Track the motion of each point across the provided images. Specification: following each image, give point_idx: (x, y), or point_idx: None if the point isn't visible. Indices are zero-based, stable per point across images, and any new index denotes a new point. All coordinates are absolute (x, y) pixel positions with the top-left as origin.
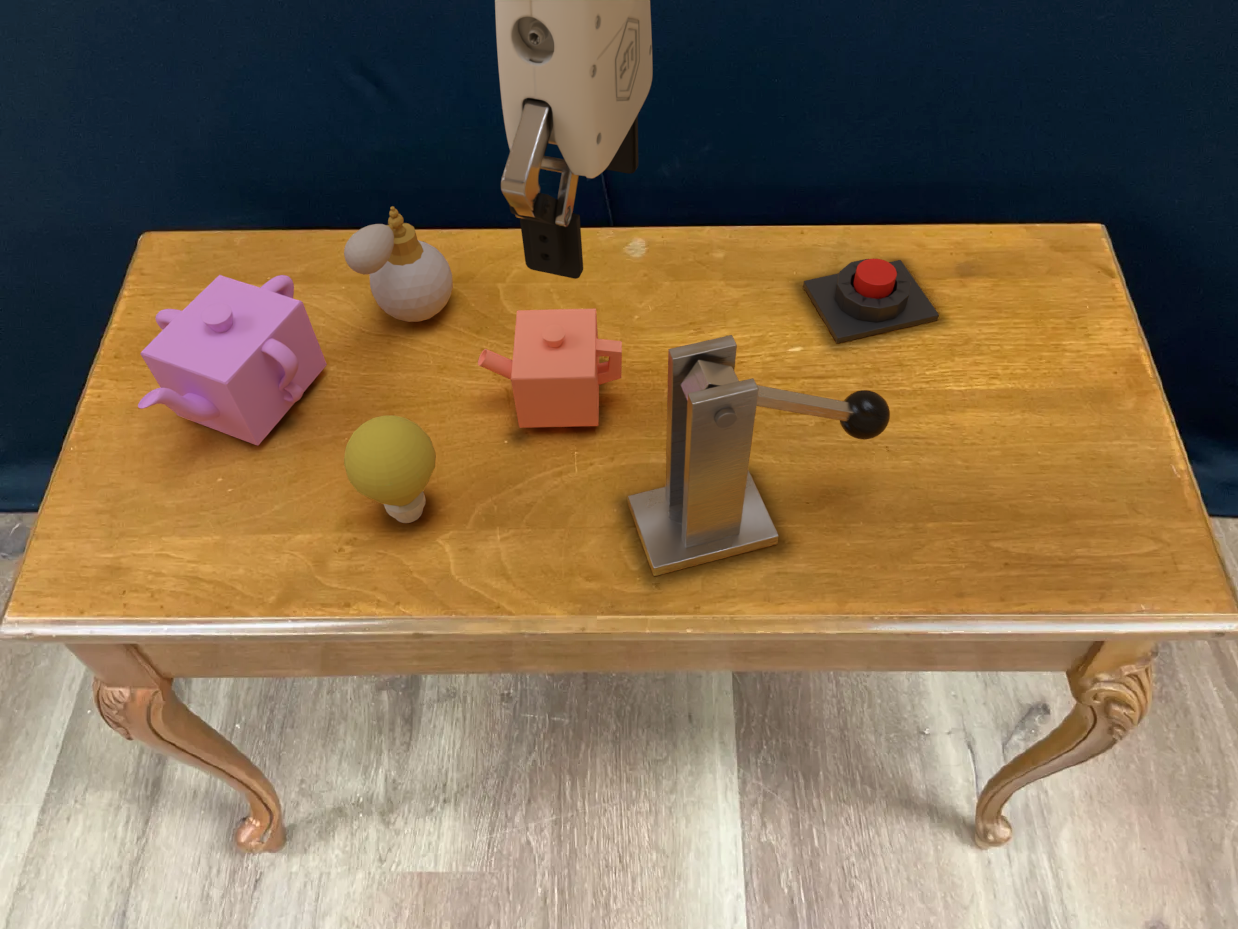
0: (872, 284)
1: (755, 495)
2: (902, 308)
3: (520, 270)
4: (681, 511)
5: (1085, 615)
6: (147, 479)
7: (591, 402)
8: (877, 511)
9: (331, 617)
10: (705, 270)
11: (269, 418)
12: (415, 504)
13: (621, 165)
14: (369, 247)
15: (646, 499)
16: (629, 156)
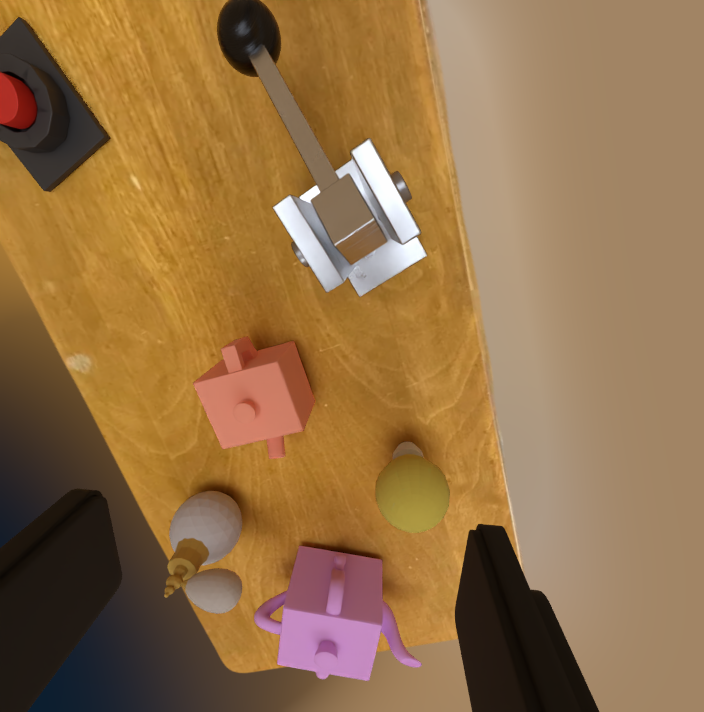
0: (17, 98)
1: None
2: (31, 64)
3: (149, 447)
4: None
5: None
6: (420, 603)
7: (287, 354)
8: (305, 51)
9: (503, 468)
10: (76, 294)
11: (363, 564)
12: (413, 451)
13: (95, 528)
14: (221, 596)
15: (359, 280)
16: (66, 535)
